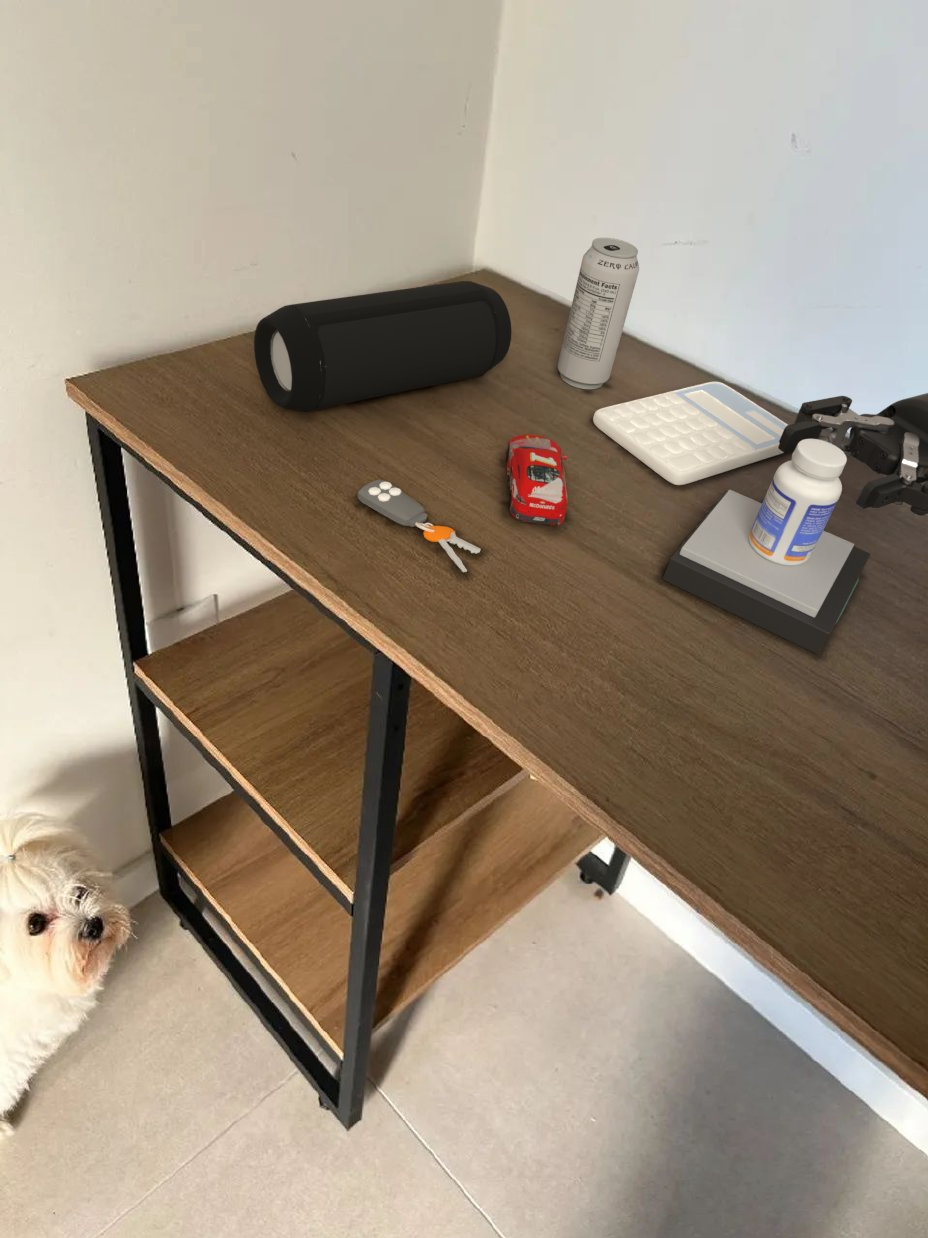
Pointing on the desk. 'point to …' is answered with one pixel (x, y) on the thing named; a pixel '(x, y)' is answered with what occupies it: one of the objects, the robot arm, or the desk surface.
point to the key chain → (411, 516)
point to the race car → (536, 480)
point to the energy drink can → (598, 312)
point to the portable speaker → (380, 343)
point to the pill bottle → (799, 503)
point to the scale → (766, 575)
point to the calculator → (693, 431)
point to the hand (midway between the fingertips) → (822, 468)
